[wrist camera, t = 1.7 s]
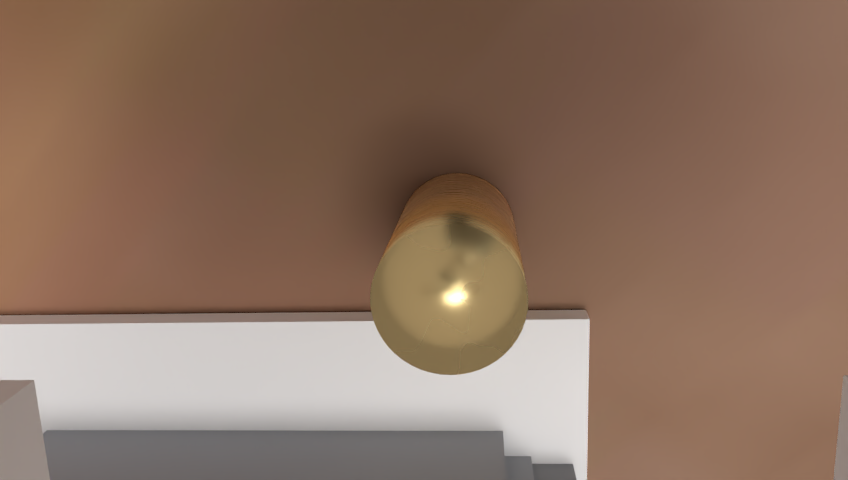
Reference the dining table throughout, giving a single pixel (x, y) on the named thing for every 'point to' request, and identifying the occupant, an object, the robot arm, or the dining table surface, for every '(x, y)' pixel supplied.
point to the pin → (451, 278)
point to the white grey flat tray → (295, 399)
